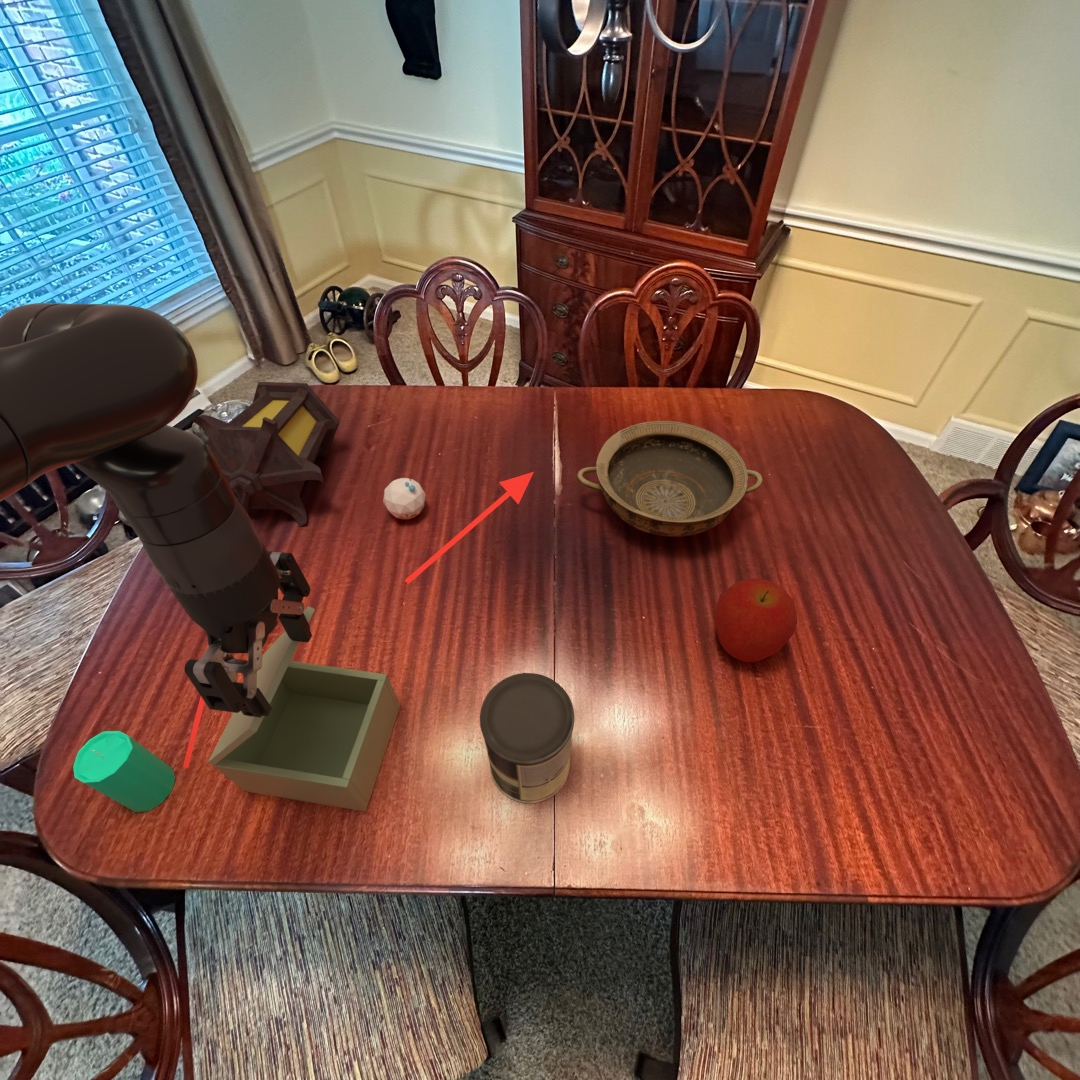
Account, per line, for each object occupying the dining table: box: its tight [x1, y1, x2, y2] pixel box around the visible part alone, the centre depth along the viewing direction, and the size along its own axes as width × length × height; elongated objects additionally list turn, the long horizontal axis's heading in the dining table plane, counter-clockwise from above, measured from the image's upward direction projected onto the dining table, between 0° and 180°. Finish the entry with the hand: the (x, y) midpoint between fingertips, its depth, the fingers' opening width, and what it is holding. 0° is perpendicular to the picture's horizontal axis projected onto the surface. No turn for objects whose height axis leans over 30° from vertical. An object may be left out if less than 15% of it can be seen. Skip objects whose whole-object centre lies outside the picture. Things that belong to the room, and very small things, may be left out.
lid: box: [207, 605, 316, 766], centre depth 66 cm, size 17×14×1 cm
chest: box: [212, 660, 401, 813], centre depth 74 cm, size 16×14×9 cm
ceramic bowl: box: [576, 420, 764, 538], centre depth 100 cm, size 30×24×10 cm
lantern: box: [190, 381, 340, 528], centre depth 100 cm, size 21×23×30 cm
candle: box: [72, 730, 176, 813], centre depth 70 cm, size 6×6×12 cm
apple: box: [713, 578, 798, 663], centre depth 81 cm, size 10×10×14 cm
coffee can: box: [479, 672, 575, 804], centre depth 71 cm, size 10×10×14 cm
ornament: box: [382, 477, 427, 520], centre depth 101 cm, size 7×7×8 cm
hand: (282, 673), depth 59 cm, fingers open, 8 cm apart
